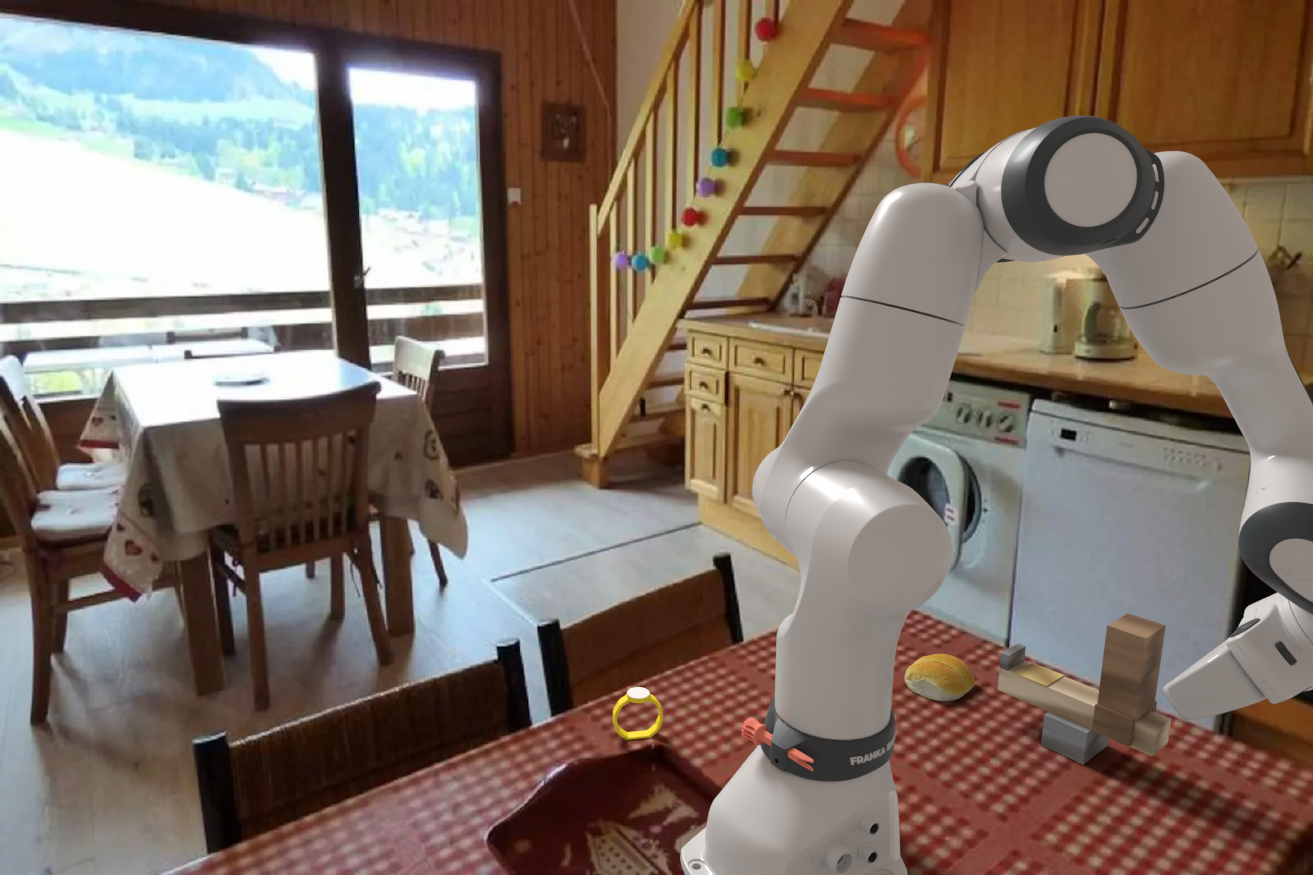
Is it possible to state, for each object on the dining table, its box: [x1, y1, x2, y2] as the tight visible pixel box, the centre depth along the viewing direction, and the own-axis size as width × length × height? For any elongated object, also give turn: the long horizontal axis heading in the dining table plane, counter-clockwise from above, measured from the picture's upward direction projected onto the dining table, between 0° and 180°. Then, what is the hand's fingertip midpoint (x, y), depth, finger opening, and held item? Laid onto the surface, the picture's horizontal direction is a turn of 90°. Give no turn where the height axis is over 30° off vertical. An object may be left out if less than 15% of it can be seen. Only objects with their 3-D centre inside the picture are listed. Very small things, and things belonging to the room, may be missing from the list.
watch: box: [612, 686, 664, 741], centre depth 103 cm, size 6×3×6 cm, turn 100°
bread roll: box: [904, 653, 976, 702], centre depth 115 cm, size 8×9×4 cm
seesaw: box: [997, 642, 1172, 765], centre depth 100 cm, size 6×18×9 cm, turn 38°
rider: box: [1092, 613, 1167, 747], centre depth 95 cm, size 6×4×13 cm, turn 128°
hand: (1170, 691), depth 92 cm, fingers closed
